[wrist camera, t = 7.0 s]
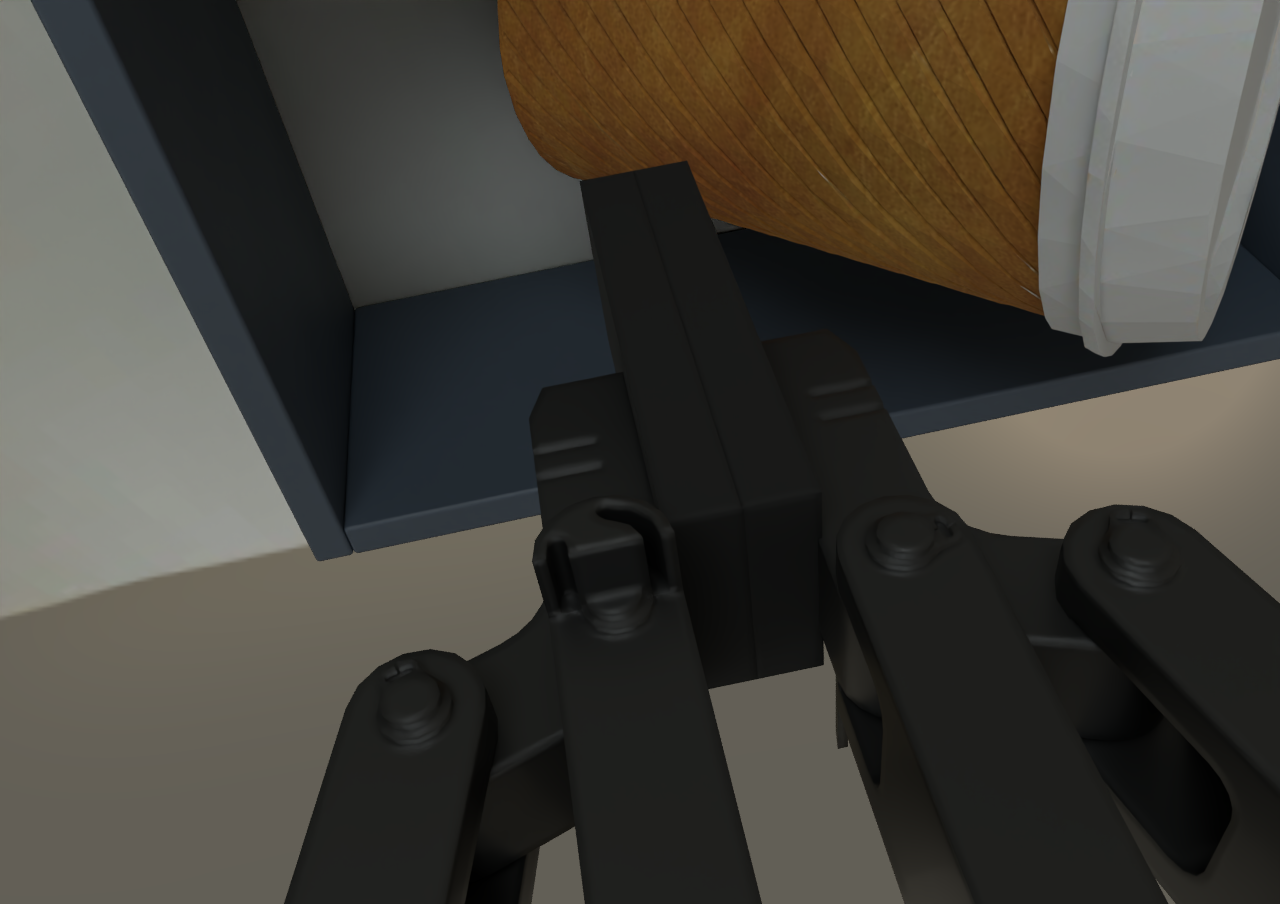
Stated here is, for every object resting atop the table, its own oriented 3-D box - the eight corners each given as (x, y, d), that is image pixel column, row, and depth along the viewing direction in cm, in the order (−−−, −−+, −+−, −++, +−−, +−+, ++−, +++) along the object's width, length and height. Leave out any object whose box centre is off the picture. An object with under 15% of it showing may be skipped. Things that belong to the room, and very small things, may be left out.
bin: (333, 337, 28) (316, 563, 23) (26, -415, 18) (-155, -356, 12) (1161, 168, 29) (1353, 345, 23) (1347, -652, 18) (1786, -705, 13)
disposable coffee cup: (714, 187, 27) (1244, 258, 22) (469, 323, 20) (1151, 481, 15) (709, -264, 23) (1388, -329, 17) (387, -285, 16) (1350, -405, 10)
